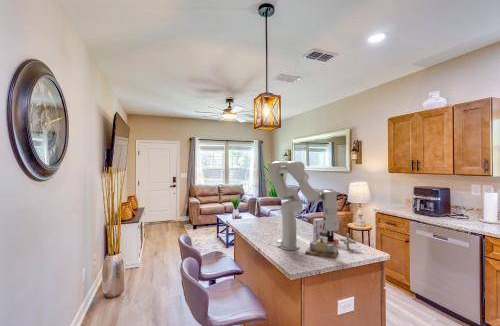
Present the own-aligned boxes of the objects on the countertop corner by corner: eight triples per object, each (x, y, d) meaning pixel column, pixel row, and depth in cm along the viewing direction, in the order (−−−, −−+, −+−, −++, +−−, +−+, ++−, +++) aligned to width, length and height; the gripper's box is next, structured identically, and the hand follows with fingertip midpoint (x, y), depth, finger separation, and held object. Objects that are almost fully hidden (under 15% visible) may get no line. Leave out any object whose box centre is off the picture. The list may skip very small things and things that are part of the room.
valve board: (305, 254, 160) (305, 251, 160) (310, 248, 171) (310, 245, 171) (335, 258, 152) (335, 256, 152) (338, 252, 163) (338, 249, 163)
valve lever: (318, 239, 162) (317, 235, 162) (321, 238, 164) (321, 234, 164) (335, 244, 151) (335, 240, 151) (338, 243, 153) (338, 239, 153)
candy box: (316, 242, 183) (316, 219, 183) (313, 240, 189) (312, 218, 189) (334, 241, 186) (333, 219, 186) (330, 239, 191) (329, 217, 192)
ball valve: (309, 251, 162) (309, 239, 162) (311, 248, 167) (311, 237, 167) (332, 254, 156) (332, 242, 156) (333, 251, 161) (333, 239, 161)
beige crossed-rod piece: (343, 245, 176) (342, 231, 177) (357, 248, 170) (357, 233, 170) (337, 249, 169) (337, 234, 169) (353, 252, 162) (353, 236, 162)
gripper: (326, 213, 146) (326, 245, 146) (343, 210, 154) (343, 241, 154) (316, 211, 152) (316, 242, 152) (333, 209, 160) (333, 238, 160)
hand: (330, 241), depth 153 cm, fingers closed
